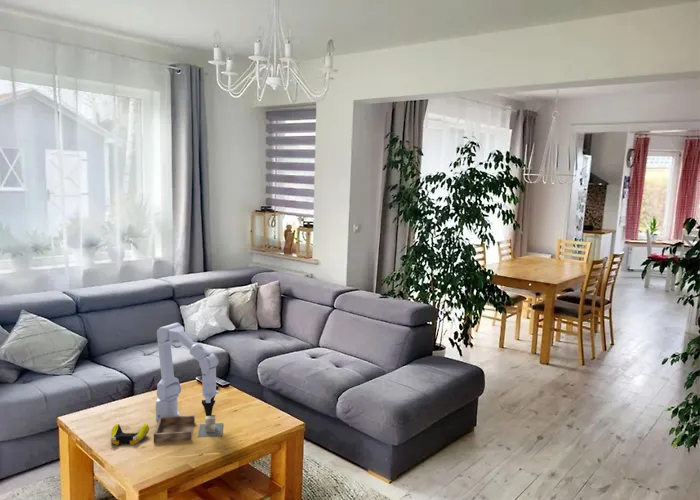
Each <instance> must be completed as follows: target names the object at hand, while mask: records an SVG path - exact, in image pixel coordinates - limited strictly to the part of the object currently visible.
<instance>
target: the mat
mask: <svg viewBox="0 0 700 500" xmlns="http://www.w3.org/2000/svg"><path fill="white" fill-rule="evenodd" d="M223 426H224V422H218V423H216V422H215V432H206V431H205V423H202V424H199V428H198V433H197V434H198V435H197V438H208V437H209V438H210V437H211V438H212V437H220V438H222V436H223V430H224V429H223Z"/></svg>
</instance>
